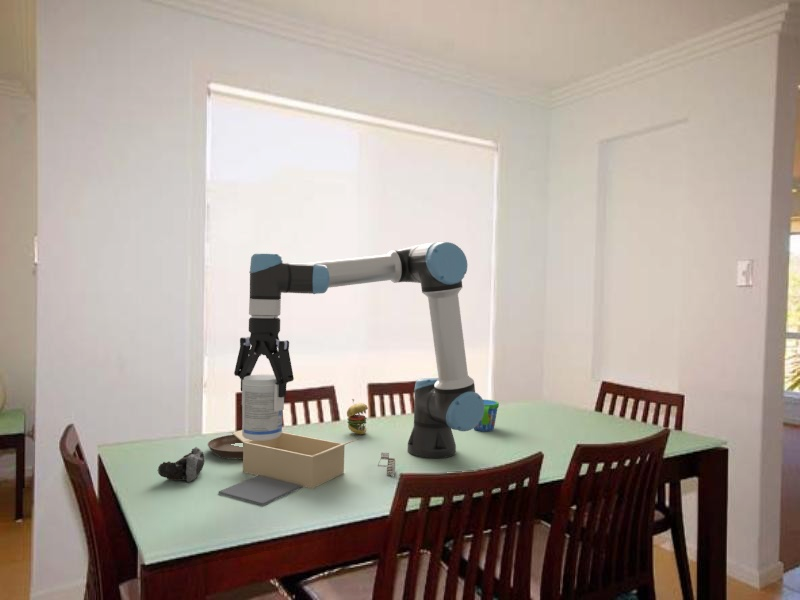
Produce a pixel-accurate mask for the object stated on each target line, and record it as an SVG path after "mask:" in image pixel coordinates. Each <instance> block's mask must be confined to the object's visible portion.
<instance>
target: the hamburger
mask: <svg viewBox="0 0 800 600" xmlns="http://www.w3.org/2000/svg"><path fill="white" fill-rule="evenodd" d="M351 400H352V403H353V404H352V405H351V406H350V407H348V409H347V411H346V416H347V425H348V426H347V427H348V429H349V430H350V431H351V432H352V433H354V434H356V435H365V434H366V432H367V431H368V430H367V429H368V428H367V427H366V424H367V418H368V417H366V416H365V415H366V414H367V410H368V406H367V404H365V402H364V403H363V402H358V403H354V401H355V399H354V398H352V399H351ZM364 414H365V415H364Z"/></svg>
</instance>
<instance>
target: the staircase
mask: <svg viewBox="0 0 800 600" xmlns="http://www.w3.org/2000/svg"><path fill="white" fill-rule="evenodd" d="M381 460H385V461H386V460H387V465H386V464H385V465H384V464H380V463H381ZM377 467H379V468H380V467H382V468H386V475H392V476H393V475H394V476H395V473H394V472H396V459H395V458H392V457H390V452H380V459H379V461H378V464H377ZM392 476H391V477H392ZM394 476H393V477H394Z"/></svg>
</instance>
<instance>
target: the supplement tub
mask: <svg viewBox="0 0 800 600" xmlns="http://www.w3.org/2000/svg"><path fill="white" fill-rule="evenodd" d="M281 379H282V378H281ZM276 383H277V380H276V378H275V375H274V374H251V375H250V376H246V377H244V382H243V406H242V412H241V415H242V418H241V419H242V420H241V421H242V422H241V424H242V426H241V428H242V429H241V430H242V435H243V437H244V438H246V439H249V440H254V441H264V440H271V439H275V438H278V437H279V436H281V434H282V432H283V410H280V411H277V412H276V411H274V384H276Z"/></svg>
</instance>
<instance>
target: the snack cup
mask: <svg viewBox="0 0 800 600" xmlns="http://www.w3.org/2000/svg"><path fill="white" fill-rule="evenodd" d="M483 401H484V406H485V409H484V415H483V417H482V419H481V420H480V421H479V424H478V425H477V426H476V427H474V428H473V429H474V430H475V431H479V432H492V431H494V429H495V426H496V425H495V424H496V419H497V412H498V408H499V406H500V405H499V402H498V401H496V400H492V399H483Z"/></svg>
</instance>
